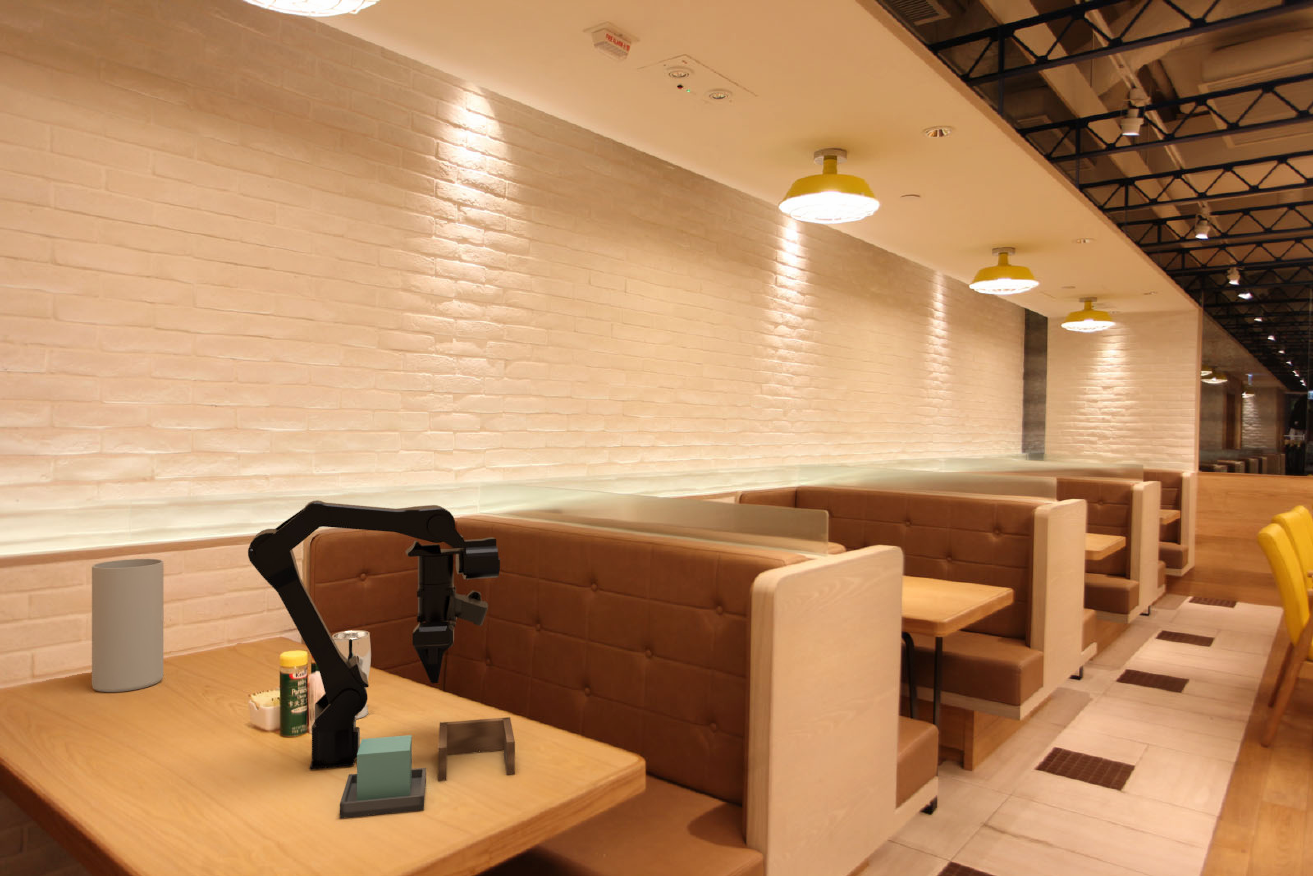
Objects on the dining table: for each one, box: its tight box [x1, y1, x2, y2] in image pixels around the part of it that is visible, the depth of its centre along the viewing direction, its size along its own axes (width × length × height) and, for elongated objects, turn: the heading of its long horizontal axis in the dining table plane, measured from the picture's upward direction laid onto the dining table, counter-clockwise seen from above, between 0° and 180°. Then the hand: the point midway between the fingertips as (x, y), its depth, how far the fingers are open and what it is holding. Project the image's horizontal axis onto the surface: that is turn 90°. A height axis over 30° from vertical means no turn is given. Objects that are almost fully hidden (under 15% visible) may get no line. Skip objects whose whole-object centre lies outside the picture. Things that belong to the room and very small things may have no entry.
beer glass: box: [331, 629, 372, 720], centre depth 154 cm, size 7×7×15 cm
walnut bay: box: [437, 716, 516, 782], centre depth 132 cm, size 11×11×5 cm
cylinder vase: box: [91, 558, 164, 693], centre depth 172 cm, size 12×12×25 cm
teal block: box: [356, 734, 413, 801], centre depth 119 cm, size 7×6×7 cm
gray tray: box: [339, 767, 427, 820], centre depth 119 cm, size 11×10×2 cm
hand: (436, 674), depth 138 cm, fingers open, 9 cm apart
